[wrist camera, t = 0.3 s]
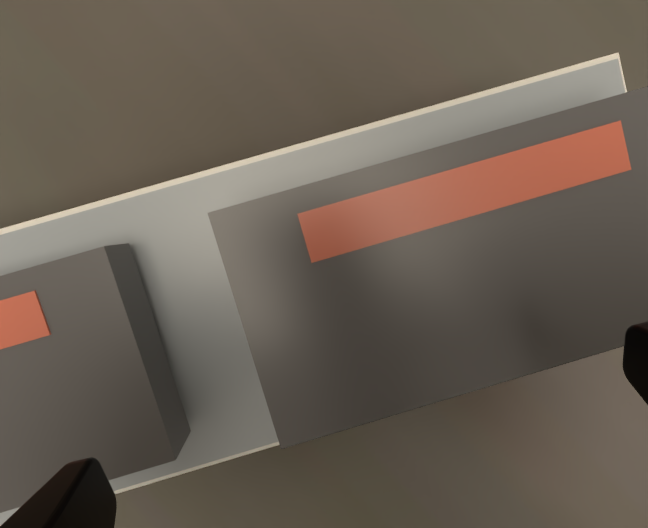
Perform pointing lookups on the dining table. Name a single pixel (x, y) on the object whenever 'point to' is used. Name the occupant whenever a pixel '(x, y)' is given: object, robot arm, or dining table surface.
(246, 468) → the dining table surface
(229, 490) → the dining table surface
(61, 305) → the key
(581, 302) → the key
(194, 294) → the switch block
